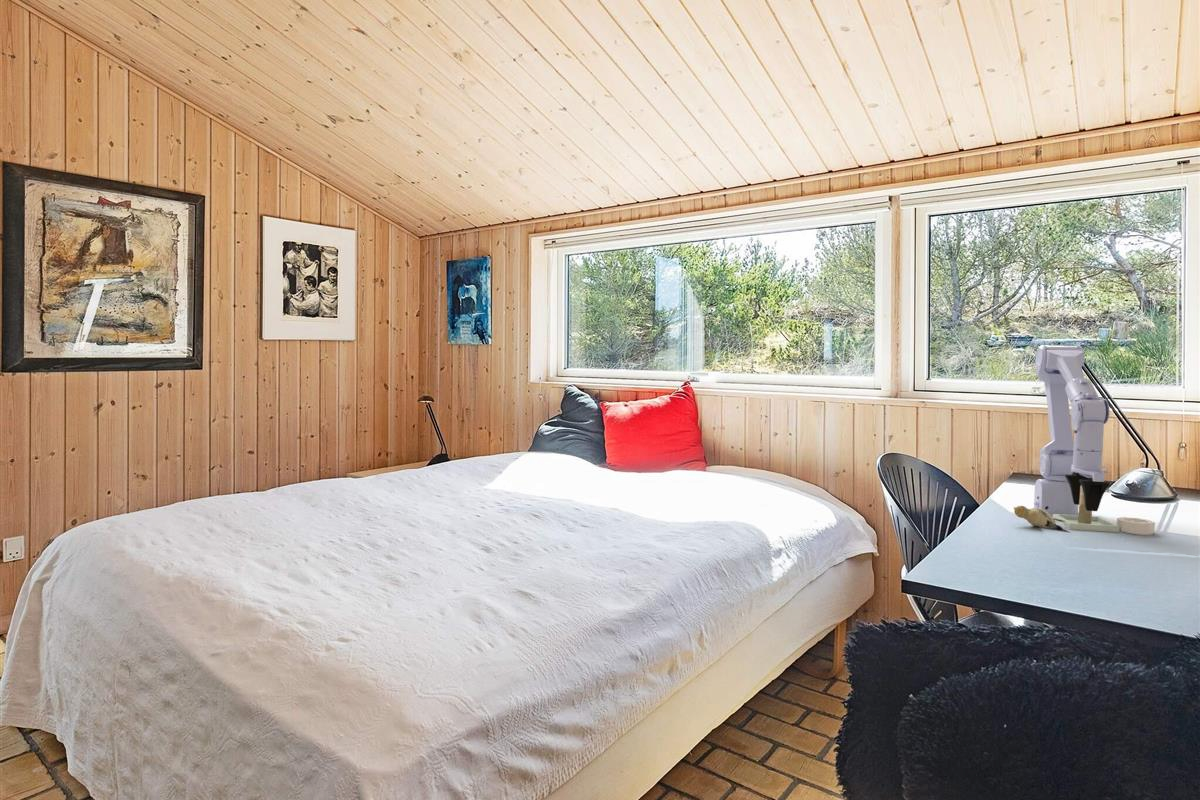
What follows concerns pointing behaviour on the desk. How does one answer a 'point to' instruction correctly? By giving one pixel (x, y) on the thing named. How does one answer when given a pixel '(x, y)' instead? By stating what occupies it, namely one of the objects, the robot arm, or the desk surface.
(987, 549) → the desk surface
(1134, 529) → the pin cup
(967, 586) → the desk surface
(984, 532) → the desk surface
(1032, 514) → the decorative bird model
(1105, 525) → the tray
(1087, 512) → the dowel pin
